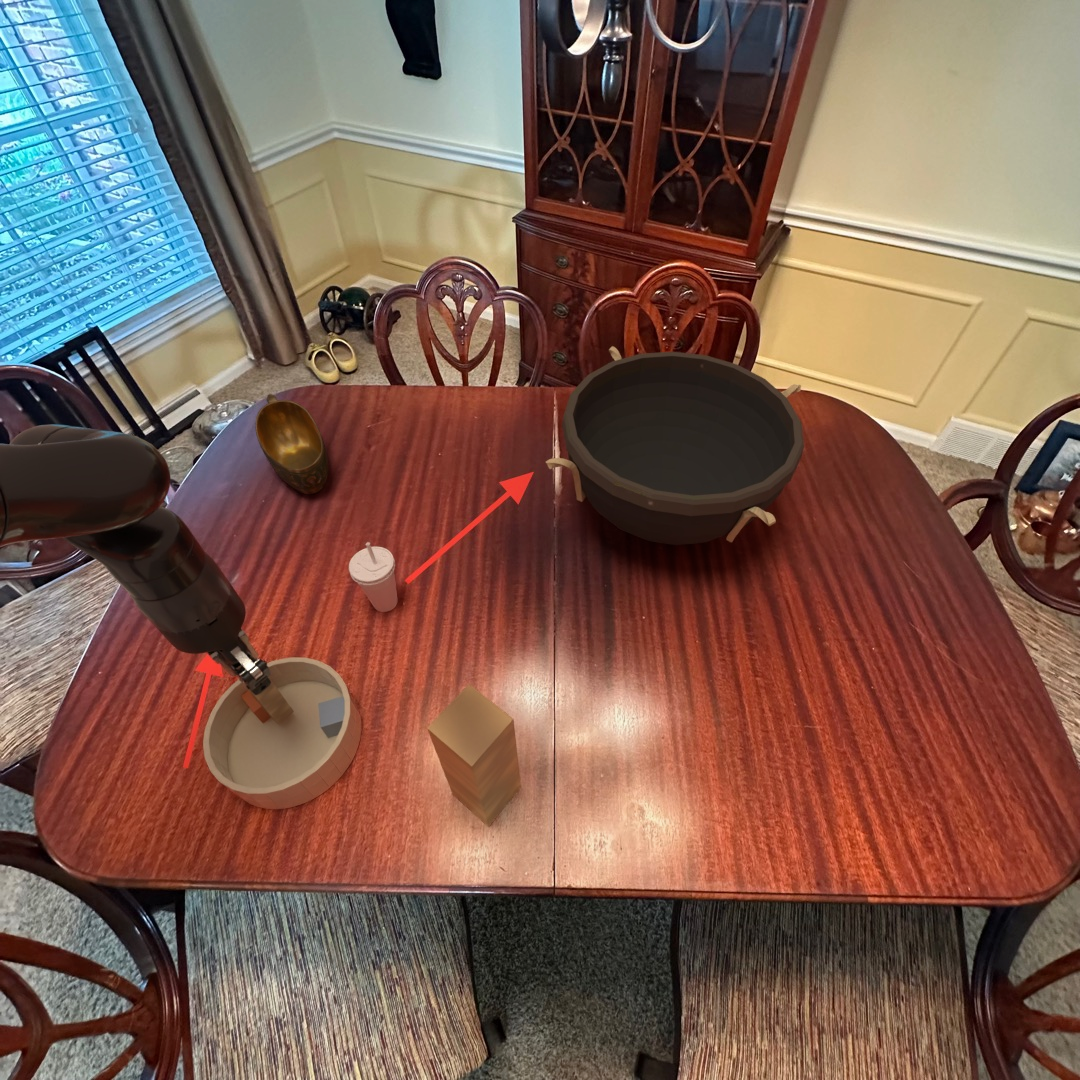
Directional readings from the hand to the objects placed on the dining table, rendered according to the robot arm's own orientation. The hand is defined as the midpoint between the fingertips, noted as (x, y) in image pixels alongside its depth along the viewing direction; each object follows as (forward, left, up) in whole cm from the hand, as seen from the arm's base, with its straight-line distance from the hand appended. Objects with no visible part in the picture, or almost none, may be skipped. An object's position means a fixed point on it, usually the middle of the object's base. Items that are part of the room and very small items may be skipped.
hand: (255, 680), depth 72 cm
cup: (+32, +39, -11) cm, 52 cm away
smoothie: (+21, +4, -11) cm, 24 cm away
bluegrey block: (+4, -6, -10) cm, 13 cm away
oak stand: (+10, -27, -11) cm, 31 cm away
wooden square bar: (0, 0, -9) cm, 9 cm away
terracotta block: (0, +3, -10) cm, 11 cm away
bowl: (+64, -19, -11) cm, 68 cm away
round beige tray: (-1, -3, -11) cm, 12 cm away
